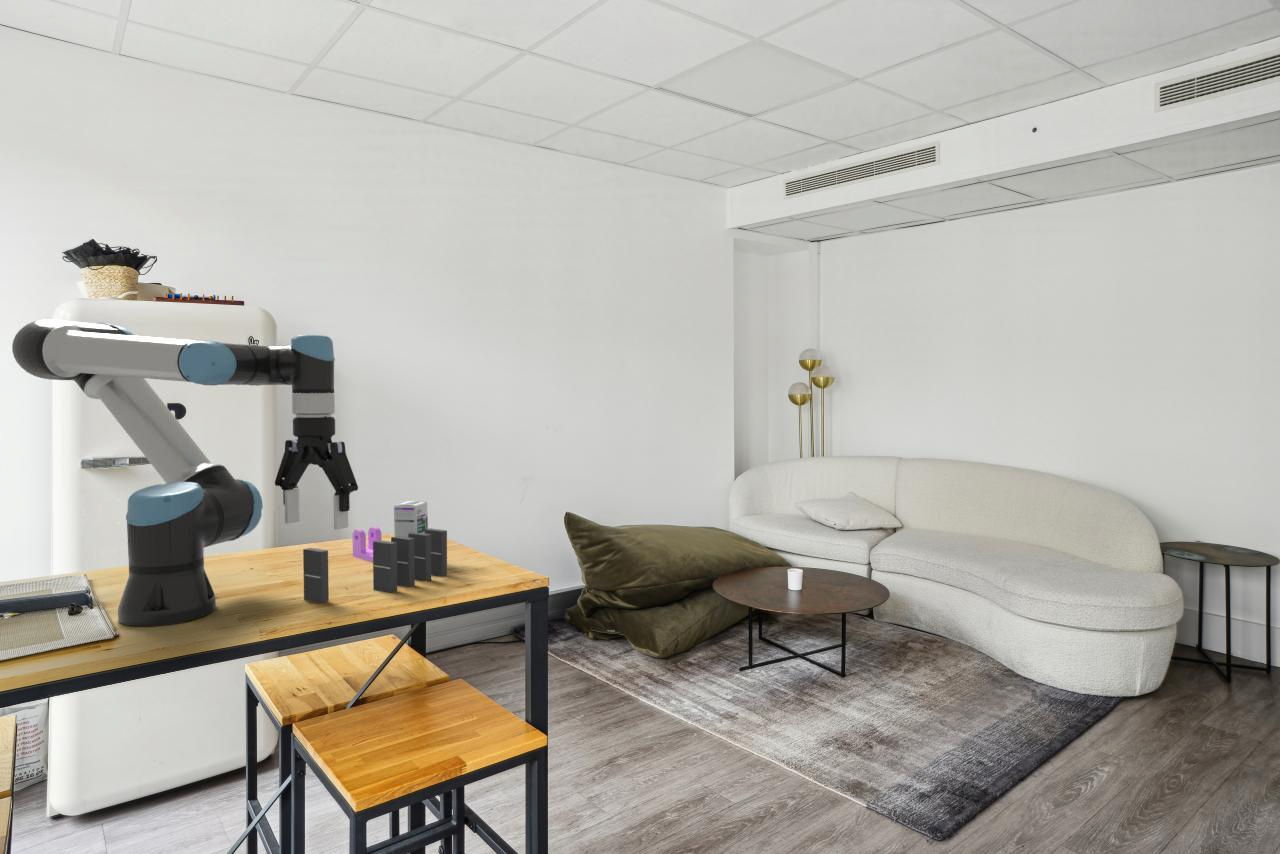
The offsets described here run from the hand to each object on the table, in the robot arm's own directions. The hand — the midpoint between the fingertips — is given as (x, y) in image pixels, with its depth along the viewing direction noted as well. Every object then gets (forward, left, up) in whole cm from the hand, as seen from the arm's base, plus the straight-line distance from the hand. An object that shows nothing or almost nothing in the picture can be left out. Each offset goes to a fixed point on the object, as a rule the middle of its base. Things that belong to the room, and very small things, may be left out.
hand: (316, 525), depth 148 cm
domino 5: (+6, +27, -15) cm, 31 cm away
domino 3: (+6, +17, -15) cm, 23 cm away
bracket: (-17, +32, -15) cm, 39 cm away
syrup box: (-6, +32, -15) cm, 36 cm away
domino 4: (+6, +22, -15) cm, 27 cm away
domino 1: (0, 0, -15) cm, 15 cm away
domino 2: (+6, +12, -15) cm, 20 cm away
